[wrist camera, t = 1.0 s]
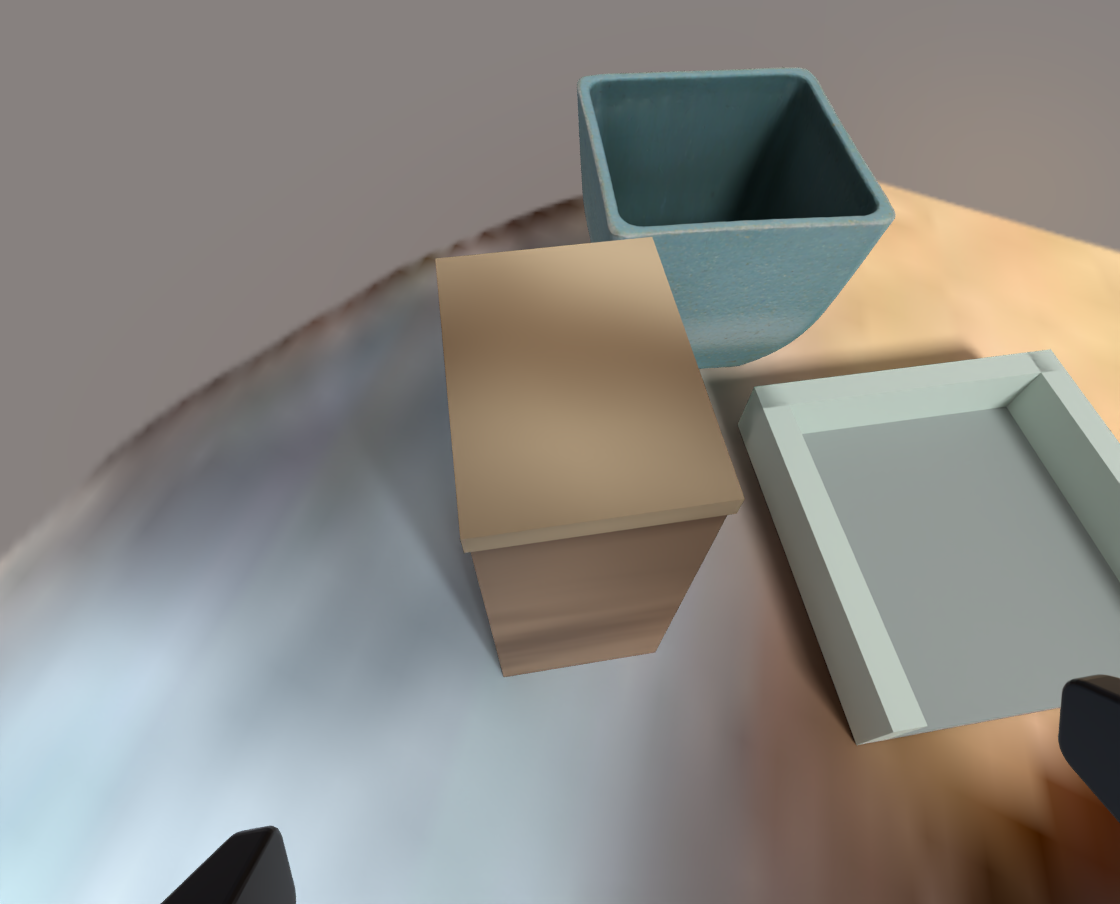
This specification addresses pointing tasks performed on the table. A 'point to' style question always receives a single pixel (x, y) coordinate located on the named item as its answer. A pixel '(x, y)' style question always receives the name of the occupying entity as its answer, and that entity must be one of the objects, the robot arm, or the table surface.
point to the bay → (946, 535)
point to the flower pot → (731, 197)
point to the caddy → (578, 448)
